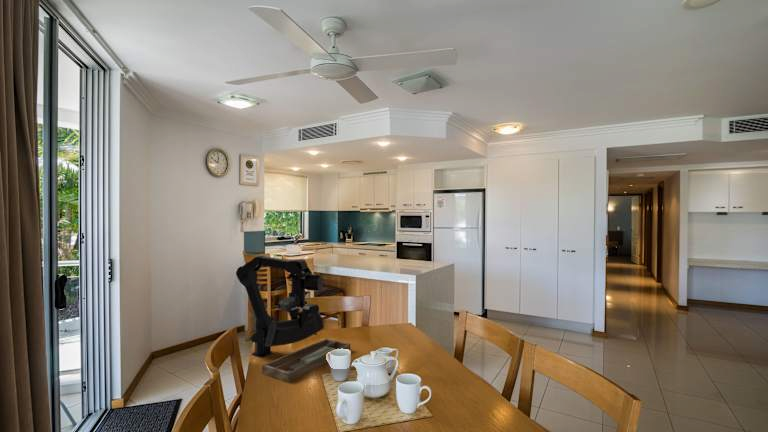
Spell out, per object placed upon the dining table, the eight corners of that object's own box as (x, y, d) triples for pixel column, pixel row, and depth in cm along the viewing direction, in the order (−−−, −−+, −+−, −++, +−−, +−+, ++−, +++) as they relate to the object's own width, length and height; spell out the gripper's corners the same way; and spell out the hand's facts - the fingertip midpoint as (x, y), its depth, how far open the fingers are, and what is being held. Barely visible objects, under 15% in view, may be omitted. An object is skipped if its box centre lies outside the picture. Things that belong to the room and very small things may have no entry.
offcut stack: (286, 374, 136) (286, 365, 136) (329, 352, 159) (329, 344, 159) (298, 377, 133) (298, 368, 133) (339, 354, 156) (340, 346, 156)
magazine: (266, 327, 135) (319, 295, 160) (260, 326, 137) (313, 294, 162) (274, 368, 138) (324, 330, 163) (268, 366, 140) (319, 329, 165)
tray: (262, 373, 136) (262, 365, 136) (326, 344, 167) (326, 338, 167) (288, 382, 128) (288, 374, 128) (350, 350, 159) (350, 344, 159)
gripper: (267, 290, 149) (267, 328, 149) (300, 295, 140) (300, 336, 139) (288, 286, 159) (287, 321, 159) (320, 291, 149) (319, 328, 149)
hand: (297, 326), depth 151 cm, fingers closed on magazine, 3 cm apart
